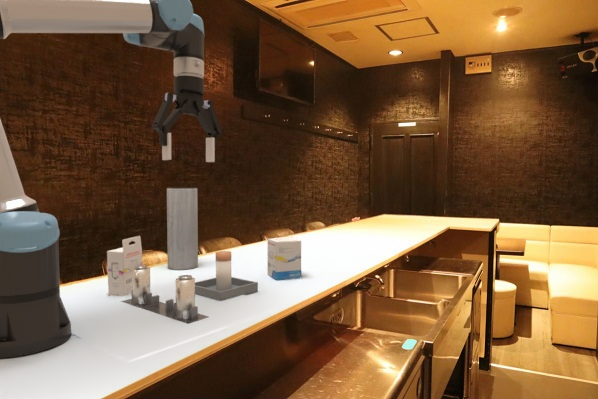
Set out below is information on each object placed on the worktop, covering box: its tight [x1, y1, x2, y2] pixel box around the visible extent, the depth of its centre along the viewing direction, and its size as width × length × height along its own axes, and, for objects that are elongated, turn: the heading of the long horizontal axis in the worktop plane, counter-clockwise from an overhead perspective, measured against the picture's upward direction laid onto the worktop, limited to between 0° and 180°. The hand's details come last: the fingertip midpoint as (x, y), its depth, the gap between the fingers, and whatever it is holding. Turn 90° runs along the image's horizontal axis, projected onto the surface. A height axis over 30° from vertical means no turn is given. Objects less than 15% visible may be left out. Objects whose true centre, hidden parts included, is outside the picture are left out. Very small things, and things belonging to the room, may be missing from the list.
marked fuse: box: [215, 250, 233, 291], centre depth 113 cm, size 4×4×10 cm
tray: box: [195, 276, 259, 302], centre depth 113 cm, size 13×13×2 cm
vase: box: [166, 187, 199, 271], centre depth 146 cm, size 10×10×27 cm
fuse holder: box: [120, 264, 209, 325], centre depth 98 cm, size 6×26×9 cm, turn 52°
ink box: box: [267, 236, 302, 281], centre depth 133 cm, size 9×8×12 cm
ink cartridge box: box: [106, 235, 143, 297], centre depth 113 cm, size 9×5×15 cm, turn 168°
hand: (189, 161), depth 111 cm, fingers open, 13 cm apart
